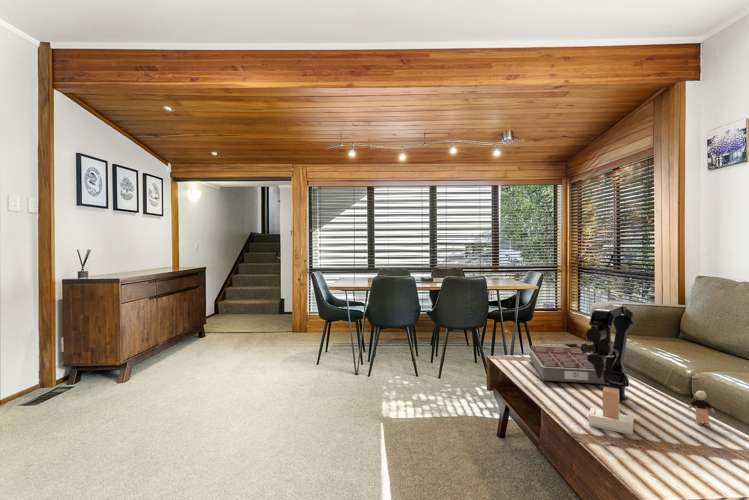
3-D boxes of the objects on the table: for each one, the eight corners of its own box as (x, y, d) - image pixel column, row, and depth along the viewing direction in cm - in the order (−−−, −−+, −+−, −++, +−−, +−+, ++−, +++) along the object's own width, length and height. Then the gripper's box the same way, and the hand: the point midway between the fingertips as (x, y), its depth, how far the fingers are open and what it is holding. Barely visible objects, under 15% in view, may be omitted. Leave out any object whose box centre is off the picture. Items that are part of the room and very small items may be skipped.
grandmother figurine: (710, 423, 151) (710, 390, 151) (715, 427, 147) (715, 393, 147) (686, 420, 153) (686, 388, 153) (691, 424, 150) (690, 391, 150)
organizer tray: (542, 383, 198) (542, 363, 198) (528, 361, 237) (528, 345, 237) (612, 387, 191) (612, 367, 191) (586, 364, 230) (586, 347, 230)
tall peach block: (604, 417, 154) (604, 386, 154) (619, 420, 152) (619, 389, 152) (602, 422, 149) (602, 391, 150) (618, 425, 147) (618, 393, 147)
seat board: (593, 411, 163) (593, 401, 163) (633, 419, 155) (633, 409, 155) (588, 425, 149) (588, 414, 149) (632, 435, 141) (632, 424, 141)
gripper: (591, 333, 180) (591, 367, 180) (574, 338, 168) (574, 375, 168) (619, 337, 172) (619, 372, 172) (602, 343, 160) (602, 382, 160)
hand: (603, 375), depth 168 cm, fingers open, 9 cm apart
